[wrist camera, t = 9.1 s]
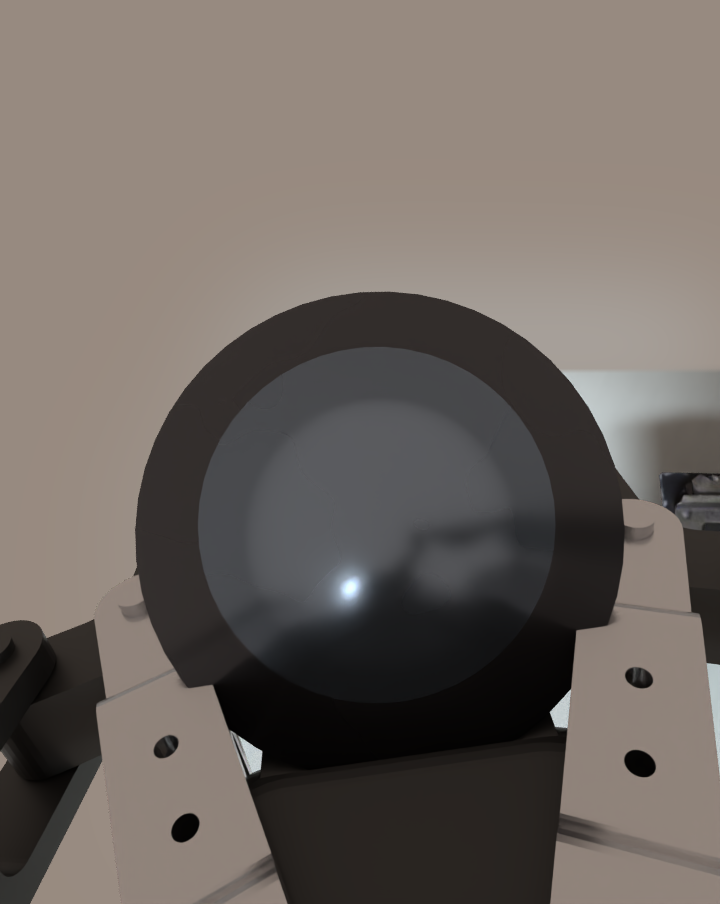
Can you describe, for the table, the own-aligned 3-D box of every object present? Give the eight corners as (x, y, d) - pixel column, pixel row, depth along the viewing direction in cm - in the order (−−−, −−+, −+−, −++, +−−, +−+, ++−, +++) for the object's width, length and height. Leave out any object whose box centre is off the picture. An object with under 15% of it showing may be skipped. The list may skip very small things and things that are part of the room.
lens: (486, 457, 17) (590, 266, 8) (509, 671, 16) (673, 775, 6) (285, 471, 18) (136, 305, 8) (291, 683, 16) (120, 799, 6)
